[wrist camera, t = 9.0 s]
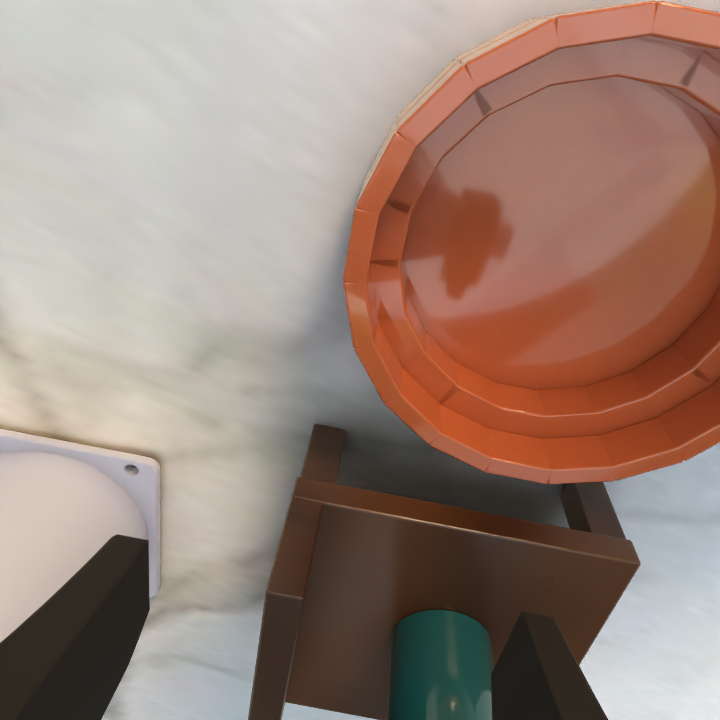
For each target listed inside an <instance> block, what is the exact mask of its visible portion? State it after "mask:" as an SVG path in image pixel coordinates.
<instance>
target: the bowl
mask: <svg viewBox="0 0 720 720" xmlns="http://www.w3.org/2000/svg"><path fill="white" fill-rule="evenodd" d="M343 288H344V294H345V300H346V307H347V313H348V319H349V325H350V331H351V337H352V343H353V346H354V350H355V352H356V354H357V356H358V357H359V359H360V361H361V363H362V365H363V367H364V368H365V370H366V372H367V374H368V376H369V377H370V379H371V381H372V383H373V385H374V387H375V388H376V390H377V392H378V394H379V396H380V398H381V399H382V401H383V402H384V403H385V405H386V406H387V407H388V408H389V409H390V410H392V411H393V412H394V413H395V414H396V415H397V416H398V417H399V418H400V419H401V420H402V421H403V422H404V423H406V424H407V425H408V426H409V427H410V428H411V429H412V430H413V431H414V432H415V433H416V434H417V435H418V436H420V437H421V438H422V439H423V440H424V441H425V442H426V443H427V444H429V445H430V446H431V447H433V448H436V449H438V450H440V451H442V452H444V453H446V454H448V455H450V456H452V457H454V458H456V459H458V460H460V461H462V462H464V463H466V464H468V465H470V466H472V467H474V468H476V469H479V470H481V471H483V472H484V471H485V472H486V473H490V474H496V475H501V476H506V477H511V478H516V479H521V480H527V481H532V482H537V483H542V484H547V483H548V484H567V483H587V482H608V481H614V480H621V479H625V478H628V477H632V476H635V475H639V474H642V473H646V472H649V471H653V470H657V469H660V468H664V467H667V466H671V465H674V464H678V463H681V462H683V460H684V461H686V460H688V459H690V458H692V457H694V456H696V455H697V454H699V453H701V452H703V451H705V450H707V449H709V448H710V447H712V446H714V445H716V444H718V443H720V13H718V12H713V11H708V10H703V9H698V8H693V7H688V6H684V5H679V4H674V3H669V2H664V1H647V2H638V3H630V4H621V5H612V6H606V7H599V8H593V9H587V10H581V11H574V12H568V13H562V14H555V15H549V16H543V17H537V18H532V19H531V20H526V21H524V22H522V23H521V24H519V25H517V26H515V27H513V28H511V29H509V30H507V31H505V32H503V33H501V34H499V35H498V36H496V37H494V38H492V39H490V40H488V41H486V42H484V43H482V44H480V45H478V46H477V47H475V48H473V49H471V50H469V51H467V52H465V53H463V54H461V55H459V56H458V57H457V58H456V59H454V60H453V61H452V62H451V63H450V64H449V65H448V66H447V67H446V68H445V69H444V70H443V71H442V72H441V73H440V74H439V75H438V76H437V77H436V78H435V79H434V80H433V81H432V82H431V83H430V84H429V85H428V86H427V87H426V88H425V89H424V90H423V91H422V92H421V93H420V94H419V95H418V96H417V97H416V98H415V99H414V100H413V101H412V102H411V103H410V104H409V105H408V106H407V107H406V108H405V109H404V110H403V111H402V112H401V113H400V115H399V116H398V117H397V119H396V120H395V122H394V124H393V126H392V128H391V130H390V132H389V134H388V136H387V138H386V140H385V141H384V143H383V145H382V147H381V149H380V151H379V153H378V155H377V157H376V159H375V160H374V162H373V164H372V166H371V168H370V170H369V172H368V174H367V176H366V178H365V181H364V184H363V187H362V189H361V192H360V195H359V198H358V201H357V204H356V207H355V210H354V215H353V221H352V227H351V233H350V239H349V245H348V251H347V256H346V262H345V268H344V274H343Z"/></svg>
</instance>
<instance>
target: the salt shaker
mask: <svg viewBox="0 0 720 720" xmlns="http://www.w3.org/2000/svg"><path fill="white" fill-rule="evenodd" d="M494 667H495V666H494V658H493V650H492V641H491V638H490V635H489V633H488V631H487V630H486V629H485V627H484V626H483V625H482V624H480V623H479V622H478V621H477V620H475V619H473V618H471V617H469V616H467V615H465V614H462V613H459V612H455V611H449V610H425V611H420V612H417V613H413V614H411V615H409V616H407V617H405V618H403V619H402V620H400V621H399V622H398V623H397V624H396V625H395V626H394V628H393V629H392V631H391V633H390V636H389V648H388V669H387V690H386V712H385V720H492V698H491V673H492V671H493V669H494Z"/></svg>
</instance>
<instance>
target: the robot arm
mask: <svg viewBox="0 0 720 720" xmlns="http://www.w3.org/2000/svg"><path fill="white" fill-rule="evenodd" d="M131 465H133V466H135V467H136V468H137V469H136V468H133V467H132V466H131ZM160 553H161V468H160V465H159V464H158V462H157V461H156V460H154V459H153V458H150V457H146V456H141V455H135V454H130V453H125V452H120V451H115V450H109V449H104V448H99V447H94V446H89V445H83V444H78V443H73V442H68V441H63V440H57V439H52V438H47V437H42V436H37V435H31V434H26V433H21V432H16V431H10V430H5V429H0V720H101V719H102V717H103V715H104V713H105V711H106V709H107V707H108V705H109V703H110V701H111V699H112V697H113V695H114V693H115V691H116V689H117V687H118V685H119V683H120V681H121V679H122V677H123V675H124V673H125V671H126V669H127V667H128V665H129V662H130V660H131V657H132V654H133V652H134V649H135V647H136V644H137V642H138V639H139V636H140V634H141V631H142V628H143V626H144V623H145V620H146V618H147V615H148V612H149V610H150V606H149V598H153V597H155V596H157V594H158V592H159V590H160ZM491 698H492V720H608V718H607V717H606V715H605V713H604V711H603V709H602V708H601V706H600V704H599V702H598V700H597V699H596V697H595V695H594V693H593V691H592V689H591V687H590V686H589V684H588V682H587V680H586V678H585V676H584V674H583V672H582V671H581V669H580V667H579V665H578V663H577V661H576V659H575V657H574V655H573V653H572V651H571V649H570V648H569V646H568V644H567V642H566V640H565V638H564V636H563V634H562V632H561V630H560V628H559V626H558V624H557V622H556V621H555V619H554V618H553V617H549V616H544V615H539V614H534V613H528V612H523V611H522V612H521V614H520V616H519V618H518V620H517V622H516V624H515V626H514V628H513V630H512V632H511V634H510V636H509V638H508V640H507V642H506V644H505V646H504V649H503V651H502V653H501V655H500V657H499V659H498V661H497V663H496V665H495V667H494V669H493V671H492V673H491Z"/></svg>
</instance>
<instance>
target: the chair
mask: <svg viewBox="0 0 720 720" xmlns="http://www.w3.org/2000/svg"><path fill="white" fill-rule="evenodd" d="M345 434H346V431H345V430H342V429H337V428H332V427H326V426H321V425H314V427H313V430H312V434H311V438H310V442H309V446H308V450H307V453H306V457H305V461H304V465H303V469H302V472H301V476H300V477H297V479H296V482H295V486H294V490H293V493H292V497H291V501H290V504H289V508H288V512H287V515H286V519H285V523H284V527H283V530H282V534H281V538H280V541H279V545H278V549H277V553H276V556H275V560H274V564H273V567H272V571H271V575H270V579H269V582H268V586H267V590H266V595H265V602H264V609H263V616H262V624H261V631H260V638H259V645H258V652H257V659H256V666H255V674H254V681H253V688H252V695H251V702H250V709H249V716H248V720H282V715H283V710H284V705H285V702H287V703H293V704H298V705H303V706H309V707H314V708H319V709H324V710H330V711H335V712H340V713H346V714H351V715H356V716H362V717H367V718H372V719H378V720H385V712H386V690H387V669H388V648H389V636H390V633H391V631H392V629H393V628H394V626H395V625H396V624H397V623H398V622H399V621H400V620H402V619H403V618H405V617H407V616H409V615H411V614H413V613H417V612H420V611H425V610H449V611H455V612H459V613H462V614H465V615H467V616H469V617H471V618H473V619H475V620H477V621H478V622H479V623H480V624H482V625H483V626H484V627H485V629H486V630H487V631H488V633H489V635H490V638H491V641H492V650H493V658H494V666H495V665H496V663H497V661H498V659H499V657H500V655H501V653H502V651H503V649H504V646H505V644H506V642H507V640H508V638H509V636H510V634H511V632H512V630H513V628H514V626H515V624H516V622H517V620H518V618H519V616H520V614H521V612H522V611H523V612H528V613H534V614H539V615H544V616H549V617H553V618H554V619H555V621H556V622H557V624H558V626H559V628H560V630H561V632H562V634H563V636H564V638H565V640H566V642H567V644H568V646H569V648H570V649H571V651H572V653H573V655H574V657H575V659H576V661H577V663H578V665H580V663H581V661H582V660H583V658H584V657H585V655H586V653H587V652H588V650H589V648H590V647H591V645H592V643H593V642H594V640H595V638H596V637H597V635H598V634H599V632H600V630H601V629H602V627H603V625H604V624H605V622H606V620H607V619H608V617H609V615H610V614H611V612H612V611H613V609H614V607H615V606H616V604H617V602H618V601H619V599H620V597H621V596H622V594H623V592H624V591H625V589H626V587H627V586H628V584H629V583H630V581H631V579H632V578H633V576H634V574H635V573H636V571H637V569H638V568H639V566H640V560H639V558H638V555H637V553H636V551H635V548H634V546H633V543H632V542H631V541H630V540H627V539H626V538H625V535H624V533H623V530H622V528H621V525H620V523H619V520H618V518H617V515H616V513H615V511H614V508H613V506H612V503H611V501H610V498H609V496H608V493H607V491H606V489H605V486H604V484H603V482H587V483H567V484H566V485H565V488H564V490H563V492H562V494H561V496H560V498H561V501H562V505H563V508H564V511H565V514H566V518H567V521H568V524H569V528H570V529H569V528H564V527H559V526H554V525H548V524H543V523H538V522H533V521H528V520H522V519H517V518H512V517H507V516H502V515H496V514H491V513H486V512H481V511H476V510H470V509H465V508H460V507H455V506H450V505H444V504H439V503H434V502H429V501H424V500H418V499H413V498H408V497H403V496H398V495H392V494H387V493H382V492H377V491H372V490H366V489H361V488H356V487H351V486H346V485H340V484H337V479H338V474H339V468H340V463H341V457H342V451H343V446H344V440H345Z"/></svg>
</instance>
